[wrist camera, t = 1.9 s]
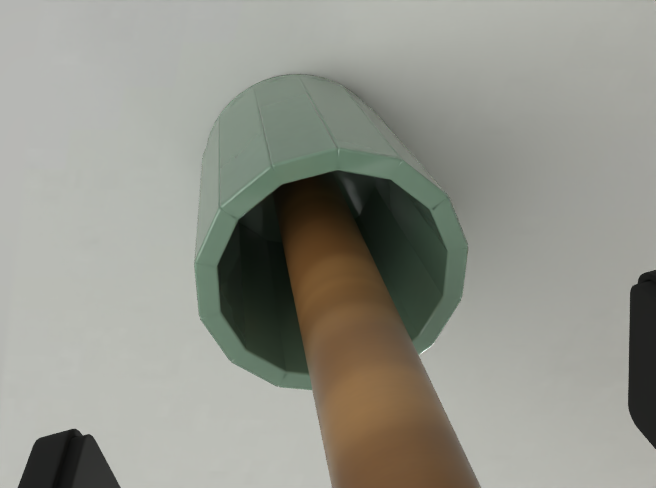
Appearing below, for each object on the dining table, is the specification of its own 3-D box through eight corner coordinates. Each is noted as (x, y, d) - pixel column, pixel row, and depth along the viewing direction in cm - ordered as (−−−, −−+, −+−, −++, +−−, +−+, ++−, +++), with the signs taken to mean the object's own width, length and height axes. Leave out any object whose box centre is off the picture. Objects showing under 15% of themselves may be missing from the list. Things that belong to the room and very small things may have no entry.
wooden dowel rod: (257, 134, 20) (348, 627, 6) (317, 118, 20) (555, 566, 6) (281, 222, 21) (401, 785, 7) (337, 207, 21) (565, 736, 7)
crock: (176, 101, 20) (152, 195, 13) (370, 52, 20) (453, 117, 13) (232, 266, 23) (237, 419, 15) (400, 222, 23) (481, 352, 16)
